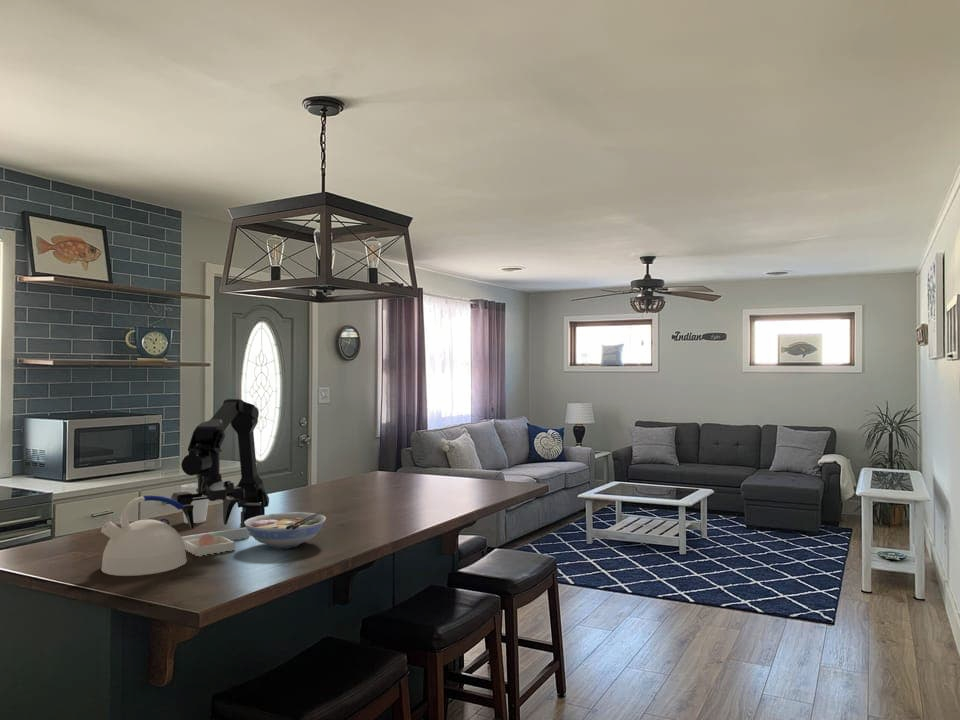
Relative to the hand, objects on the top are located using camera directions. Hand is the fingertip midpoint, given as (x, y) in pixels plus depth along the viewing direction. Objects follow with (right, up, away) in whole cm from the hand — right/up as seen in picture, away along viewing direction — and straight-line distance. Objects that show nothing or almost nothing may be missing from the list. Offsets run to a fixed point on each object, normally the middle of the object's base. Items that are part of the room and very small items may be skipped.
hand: (208, 526), depth 210 cm
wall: (-2, -7, +9) cm, 11 cm away
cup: (-19, -7, +39) cm, 44 cm away
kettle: (-11, -7, -15) cm, 20 cm away
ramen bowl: (+20, -7, +5) cm, 22 cm away
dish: (0, -7, 0) cm, 7 cm away
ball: (-1, -4, 0) cm, 4 cm away
